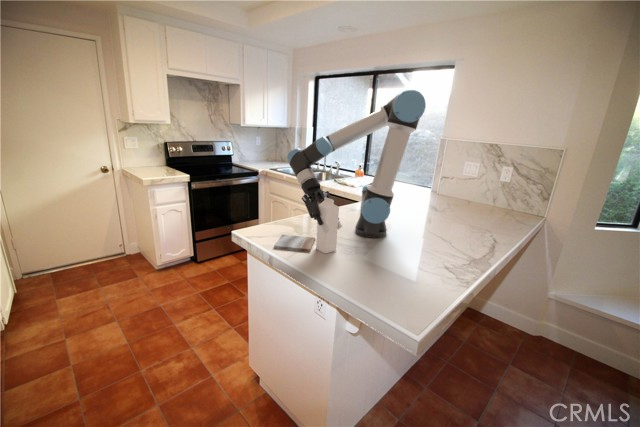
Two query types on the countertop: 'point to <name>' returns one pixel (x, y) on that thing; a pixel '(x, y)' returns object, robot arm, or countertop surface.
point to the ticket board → (295, 243)
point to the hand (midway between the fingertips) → (333, 229)
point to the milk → (330, 215)
